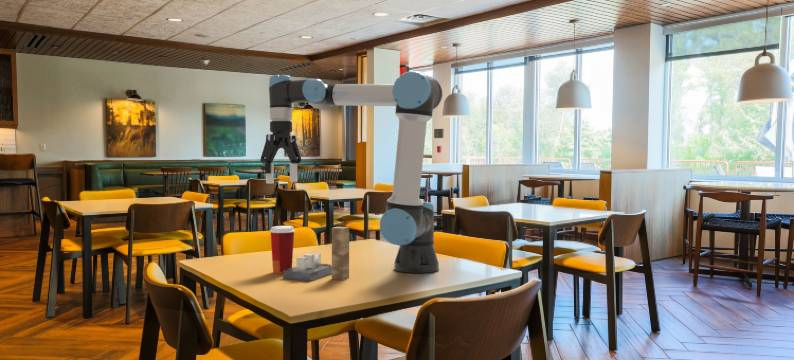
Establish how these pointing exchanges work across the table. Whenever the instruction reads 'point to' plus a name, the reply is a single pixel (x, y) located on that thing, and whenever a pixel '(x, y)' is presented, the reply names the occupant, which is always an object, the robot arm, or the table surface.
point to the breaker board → (308, 269)
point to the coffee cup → (282, 247)
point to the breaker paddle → (310, 260)
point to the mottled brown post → (340, 253)
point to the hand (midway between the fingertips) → (282, 182)
